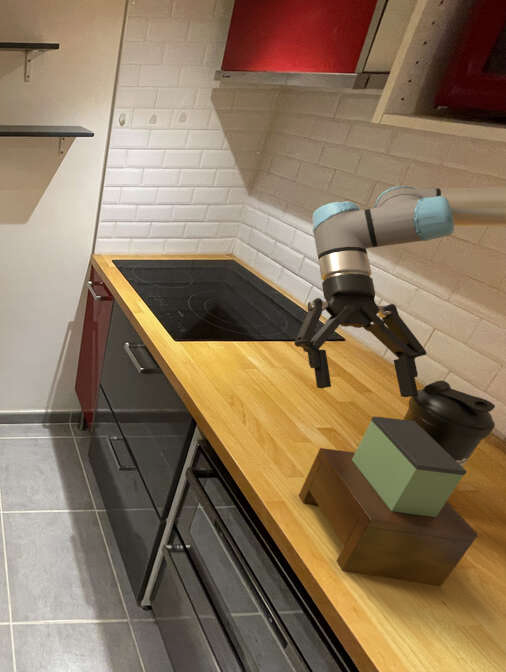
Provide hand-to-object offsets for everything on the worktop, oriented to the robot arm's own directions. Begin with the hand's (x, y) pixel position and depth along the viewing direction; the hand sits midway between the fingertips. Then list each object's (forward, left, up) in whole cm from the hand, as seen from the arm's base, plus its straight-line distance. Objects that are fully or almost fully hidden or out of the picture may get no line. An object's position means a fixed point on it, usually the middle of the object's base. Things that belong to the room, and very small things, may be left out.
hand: (366, 391), depth 78 cm
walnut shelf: (0, +12, -21) cm, 25 cm away
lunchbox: (0, +12, -9) cm, 15 cm away
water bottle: (-14, 0, -21) cm, 26 cm away
